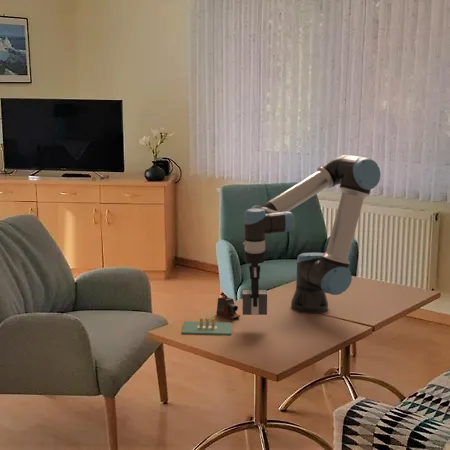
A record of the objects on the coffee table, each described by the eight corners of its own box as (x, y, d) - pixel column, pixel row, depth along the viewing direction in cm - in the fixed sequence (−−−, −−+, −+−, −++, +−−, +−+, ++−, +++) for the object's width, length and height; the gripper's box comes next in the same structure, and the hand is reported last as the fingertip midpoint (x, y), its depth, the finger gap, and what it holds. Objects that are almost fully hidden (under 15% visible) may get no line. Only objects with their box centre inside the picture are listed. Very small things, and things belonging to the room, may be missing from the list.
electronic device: (232, 321, 263) (232, 302, 262) (215, 315, 270) (215, 296, 269) (240, 318, 266) (240, 300, 265) (223, 313, 273) (224, 294, 271)
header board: (231, 323, 260) (231, 313, 259) (231, 335, 248) (231, 324, 247) (184, 322, 260) (184, 312, 259) (181, 333, 248) (181, 323, 247)
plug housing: (266, 310, 256) (266, 289, 254) (267, 314, 251) (267, 294, 249) (242, 310, 256) (242, 289, 255) (242, 314, 251) (242, 294, 250)
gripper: (244, 245, 258) (244, 303, 263) (244, 257, 240) (245, 320, 245) (264, 245, 258) (264, 303, 262) (265, 257, 240) (265, 320, 245)
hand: (254, 311), depth 254 cm, fingers closed on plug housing, 5 cm apart
